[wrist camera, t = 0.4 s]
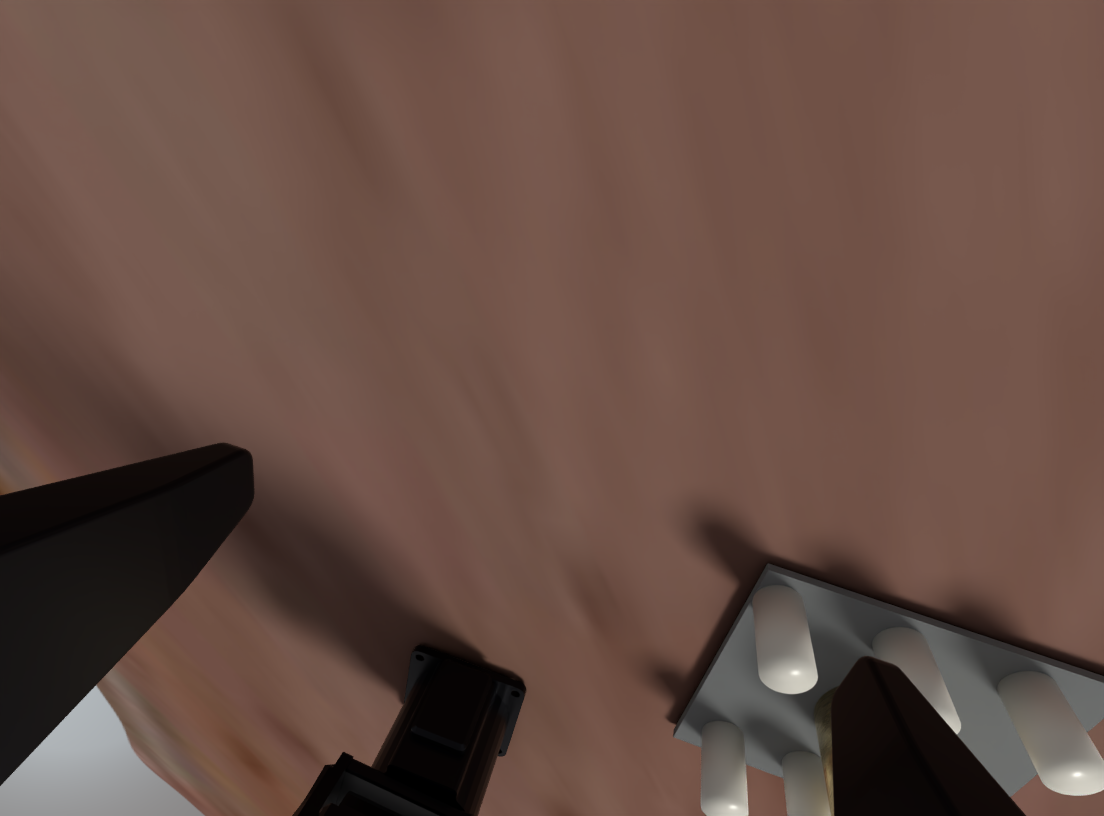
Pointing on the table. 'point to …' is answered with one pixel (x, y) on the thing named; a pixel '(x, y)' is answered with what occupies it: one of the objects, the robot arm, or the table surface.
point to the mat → (847, 635)
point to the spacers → (1026, 695)
